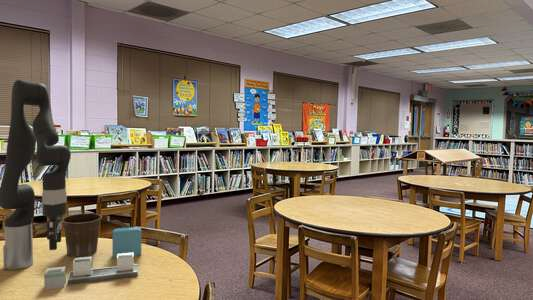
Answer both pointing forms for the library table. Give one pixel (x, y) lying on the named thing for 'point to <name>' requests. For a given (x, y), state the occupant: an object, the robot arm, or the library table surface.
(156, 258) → the library table surface
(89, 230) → the plant pot
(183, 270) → the library table surface
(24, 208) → the robot arm
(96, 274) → the rail
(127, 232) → the data package
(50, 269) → the block
